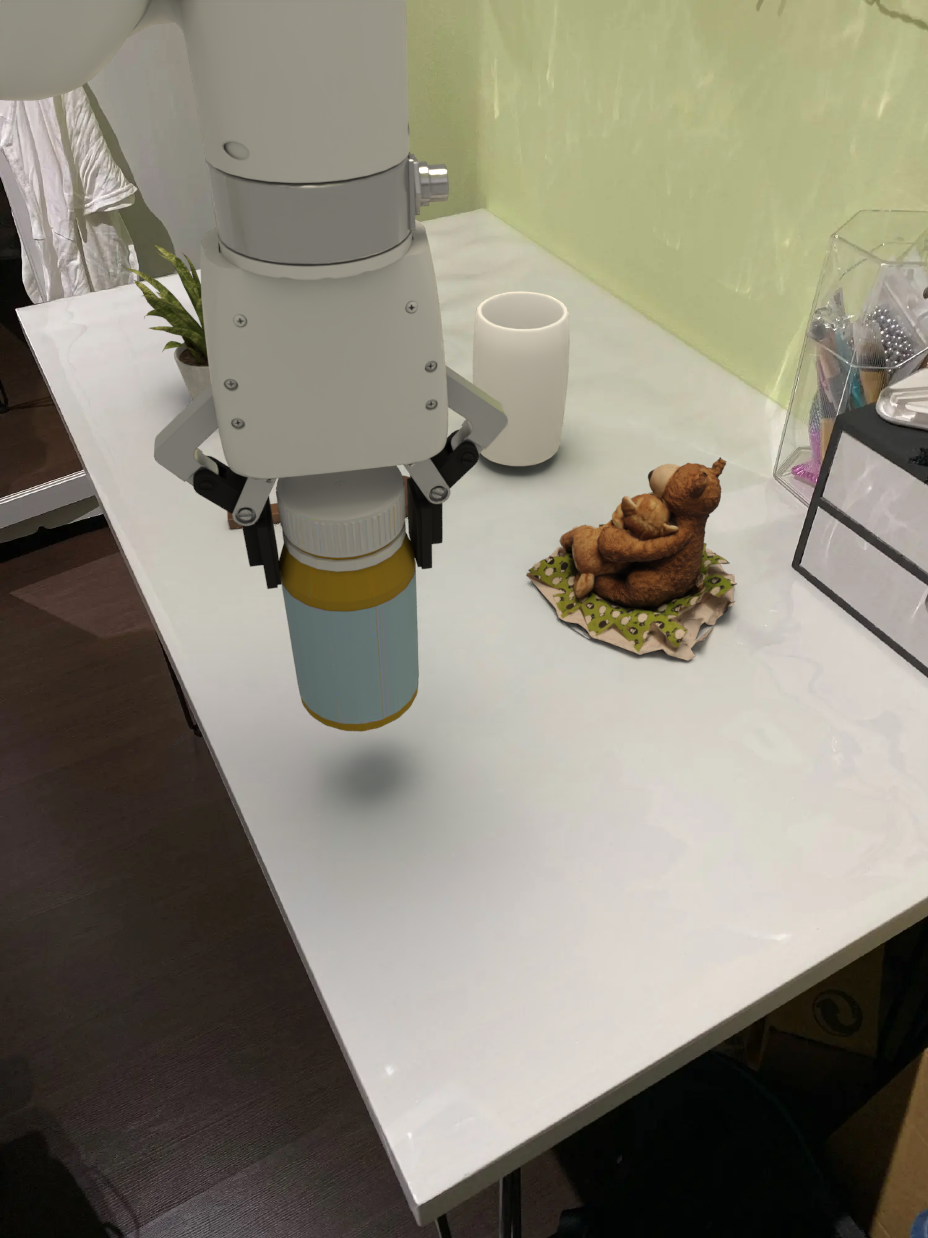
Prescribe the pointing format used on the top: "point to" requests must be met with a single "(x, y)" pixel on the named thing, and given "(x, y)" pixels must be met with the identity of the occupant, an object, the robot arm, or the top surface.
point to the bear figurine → (645, 567)
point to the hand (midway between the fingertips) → (347, 559)
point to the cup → (523, 372)
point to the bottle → (350, 595)
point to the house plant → (181, 323)
